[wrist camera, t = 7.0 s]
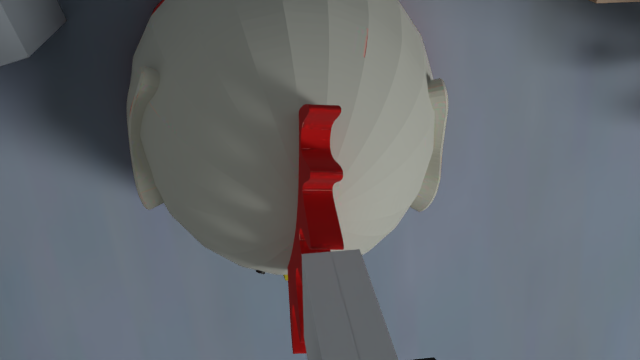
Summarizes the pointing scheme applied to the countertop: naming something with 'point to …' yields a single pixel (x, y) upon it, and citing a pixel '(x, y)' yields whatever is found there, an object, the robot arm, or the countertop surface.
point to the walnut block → (613, 1)
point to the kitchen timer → (285, 127)
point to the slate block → (26, 27)
